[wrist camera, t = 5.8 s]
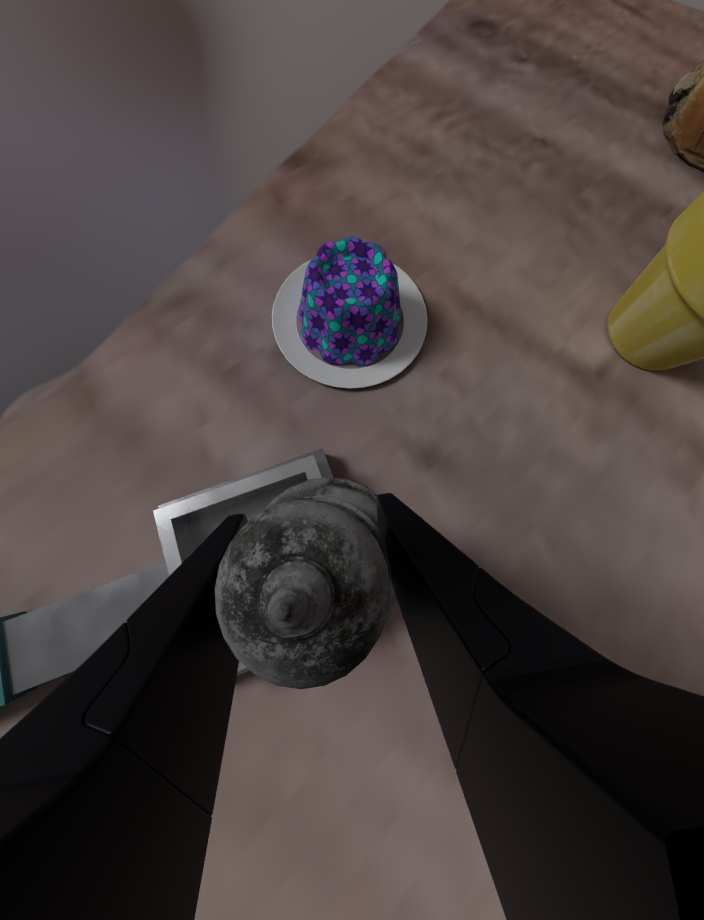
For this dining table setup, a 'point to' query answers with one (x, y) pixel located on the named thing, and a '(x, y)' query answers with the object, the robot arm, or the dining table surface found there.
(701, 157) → the bread roll
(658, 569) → the dining table surface
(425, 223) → the dining table surface
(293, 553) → the chess piece
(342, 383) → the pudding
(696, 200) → the plant pot
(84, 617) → the square frying pan
